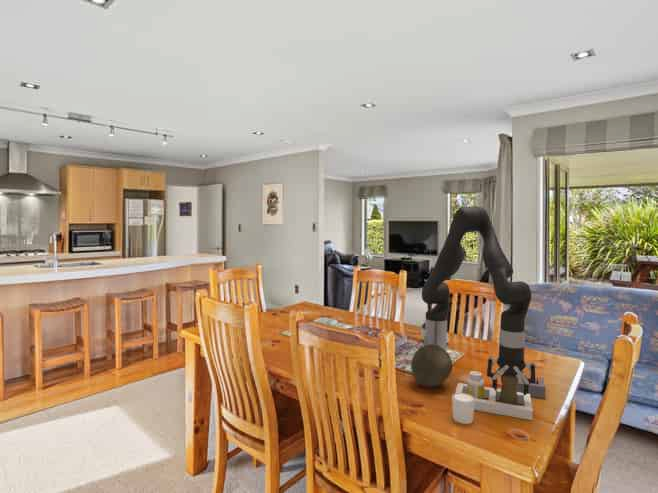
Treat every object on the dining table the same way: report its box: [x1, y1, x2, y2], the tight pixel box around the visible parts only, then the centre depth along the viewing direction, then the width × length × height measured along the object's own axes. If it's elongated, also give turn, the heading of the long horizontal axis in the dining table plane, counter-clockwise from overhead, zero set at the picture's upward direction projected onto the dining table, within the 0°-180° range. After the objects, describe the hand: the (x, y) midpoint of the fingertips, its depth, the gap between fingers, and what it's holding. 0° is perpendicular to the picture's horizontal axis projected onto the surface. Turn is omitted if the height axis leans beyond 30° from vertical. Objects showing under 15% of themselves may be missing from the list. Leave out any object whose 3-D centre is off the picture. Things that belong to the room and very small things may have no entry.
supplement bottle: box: [466, 370, 485, 400], centre depth 134 cm, size 5×5×10 cm
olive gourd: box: [498, 373, 519, 406], centre depth 130 cm, size 6×6×11 cm
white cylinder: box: [451, 393, 475, 425], centre depth 122 cm, size 7×7×7 cm
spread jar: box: [420, 318, 450, 344], centre depth 196 cm, size 12×11×12 cm
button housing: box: [516, 374, 547, 400], centre depth 142 cm, size 9×9×4 cm
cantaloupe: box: [410, 344, 453, 388], centre depth 146 cm, size 14×14×15 cm
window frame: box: [454, 382, 534, 421], centre depth 132 cm, size 23×12×3 cm, turn 67°
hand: (510, 392), depth 129 cm, fingers open, 8 cm apart
